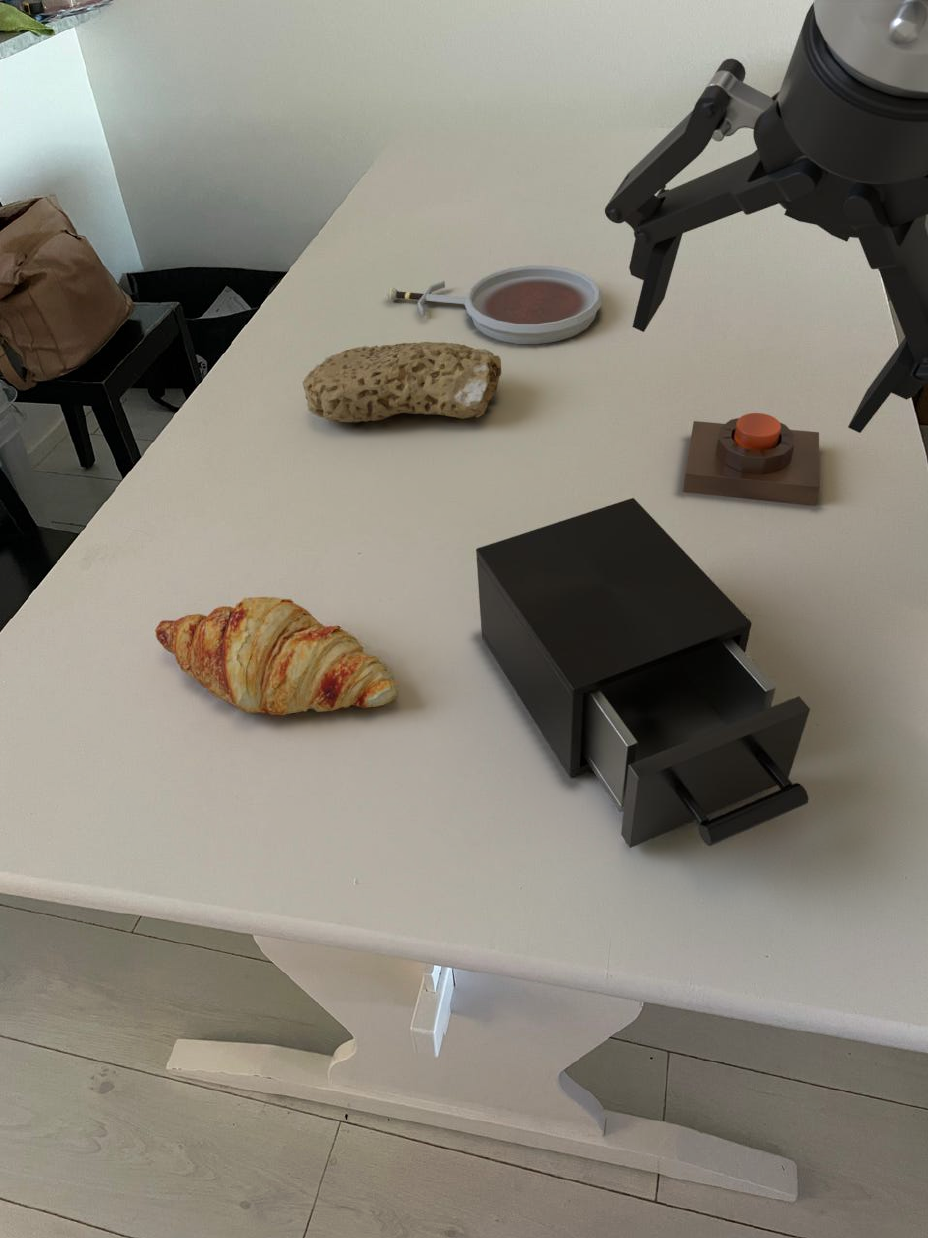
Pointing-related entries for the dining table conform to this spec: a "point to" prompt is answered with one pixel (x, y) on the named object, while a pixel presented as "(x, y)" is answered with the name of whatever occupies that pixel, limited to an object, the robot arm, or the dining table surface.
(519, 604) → the black drawer unit
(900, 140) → the robot arm
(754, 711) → the open drawer with handle
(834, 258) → the dining table surface
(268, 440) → the dining table surface
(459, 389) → the sponge
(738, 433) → the button
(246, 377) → the dining table surface
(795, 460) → the control block
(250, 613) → the croissant
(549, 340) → the frying pan
